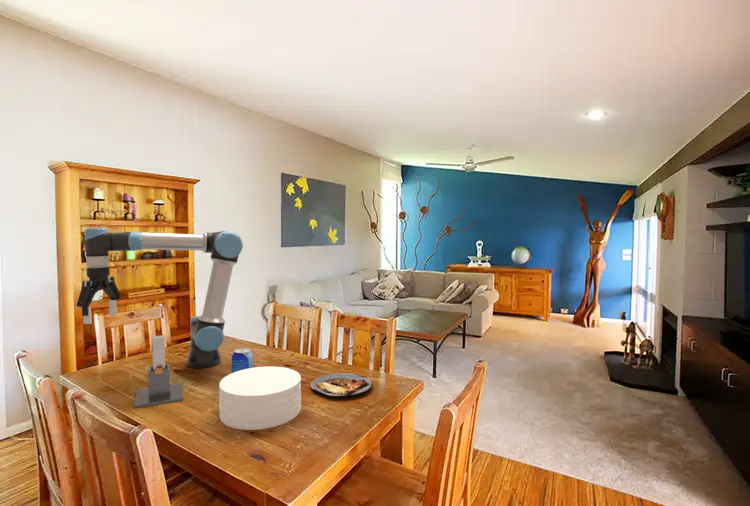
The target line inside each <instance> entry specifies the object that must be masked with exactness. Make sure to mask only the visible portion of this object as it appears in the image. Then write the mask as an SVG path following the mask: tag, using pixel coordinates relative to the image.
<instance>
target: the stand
mask: <svg viewBox="0 0 750 506" xmlns="http://www.w3.org/2000/svg"><path fill="white" fill-rule="evenodd" d="M170 367H171V365H170V363H167V364H165V368H166V370H163V368H157V369H155V371H153V365H152V366H148V387H146V388H144V387H143V388H139V389H137V391H136V394H135V399H134V403H133V409H137V408H143V407H149V406H155V405H163V404H168V403H173V402H175V403H176V402H180V401H184V391H183V390H184V387H183V383H182V382H180V383H172V384H171V375H170V373H171V372H170V370H171V369H170Z"/></svg>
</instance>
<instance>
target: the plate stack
mask: <svg viewBox="0 0 750 506" xmlns="http://www.w3.org/2000/svg"><path fill="white" fill-rule="evenodd" d="M218 386H219V387H218V388H219V392H218V393H219V394H218V395H219V400H218V401H219V420H220V421H221V423H222V424H224V425H225V426H227V427H229V428H233V429H237V430H247V431H251V430H252V431H254V430H255V431H256V430H257V431H258V430H265V429H271V428H274V427H279V426H281V425H284V424H286V423H289V422H290V421H292V420H293V419H295V418H296V417H297V416H298V415H299V413H300V412H301V409H302V403H301V402H302V376H301V375H300V373H299V372H298V371H296V370H294V369H292V368H289V367H283V366H273V365H272V366H270V365H269V366H267V365H266V366H256V367H253V368H249V369H244V370H240V371H237V372H234V373H232V372H231V373H229V374H227V375H226V376H224V377H223V378H222V379H221V380H220V381H219V384H218Z"/></svg>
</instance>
